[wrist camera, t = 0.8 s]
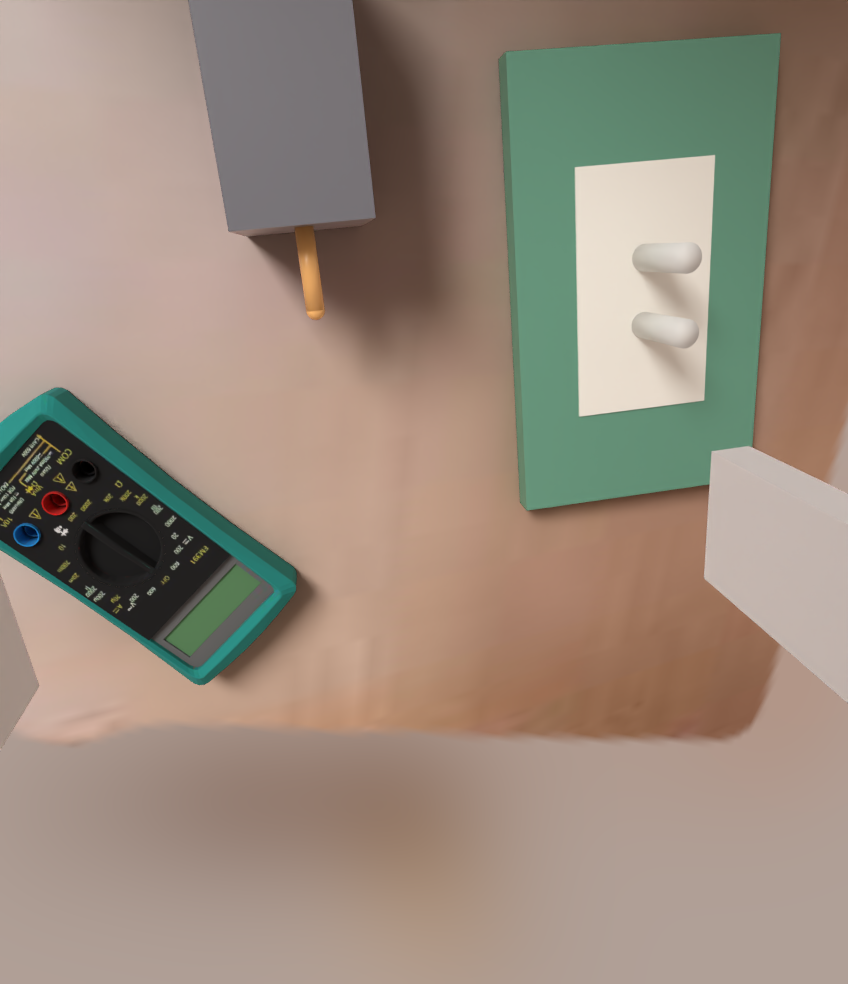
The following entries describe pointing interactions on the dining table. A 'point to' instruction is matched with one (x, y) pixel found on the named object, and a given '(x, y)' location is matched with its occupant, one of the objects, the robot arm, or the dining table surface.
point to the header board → (635, 258)
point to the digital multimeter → (132, 539)
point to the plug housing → (286, 120)
